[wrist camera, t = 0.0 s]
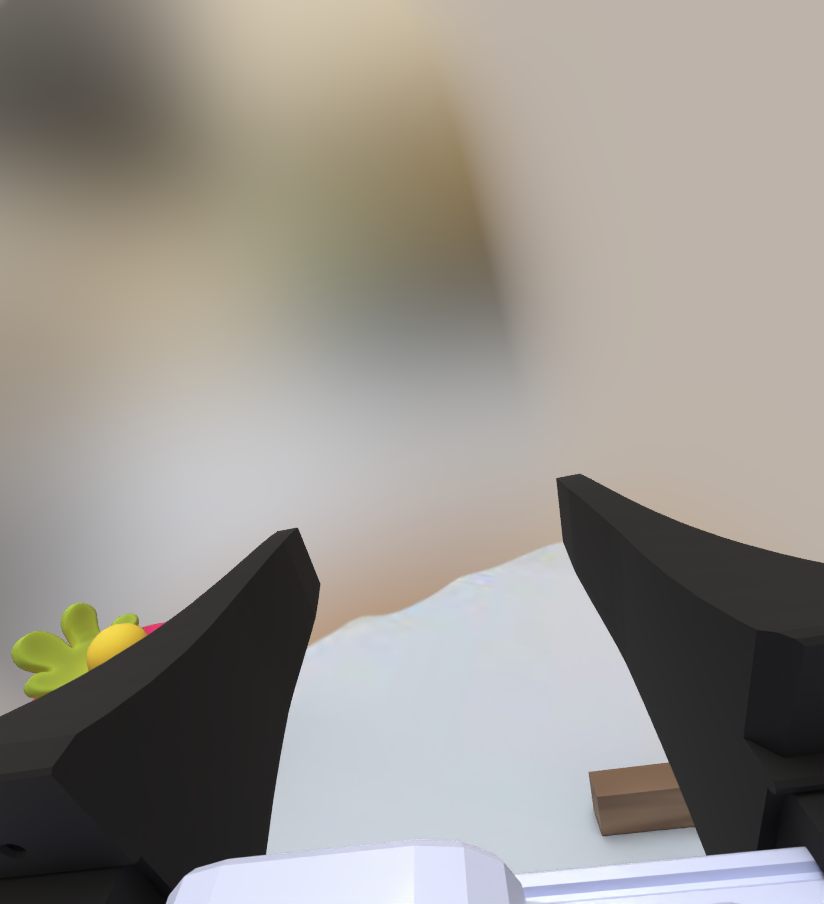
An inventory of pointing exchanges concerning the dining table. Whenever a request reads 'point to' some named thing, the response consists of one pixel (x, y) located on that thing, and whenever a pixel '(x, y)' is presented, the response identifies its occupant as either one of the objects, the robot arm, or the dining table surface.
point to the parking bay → (638, 799)
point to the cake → (74, 648)
